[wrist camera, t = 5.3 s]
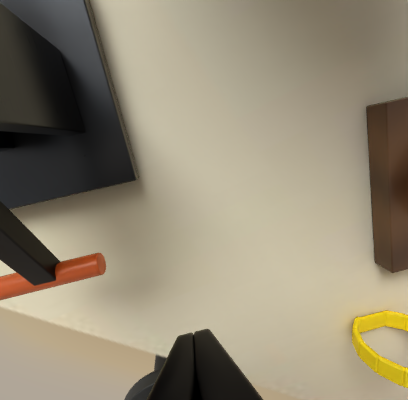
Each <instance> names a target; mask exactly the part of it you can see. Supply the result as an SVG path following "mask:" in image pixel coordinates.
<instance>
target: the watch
mask: <svg viewBox="0 0 408 400" xmlns="http://www.w3.org/2000/svg"><path fill="white" fill-rule="evenodd" d="M383 326H388V327H393V328H397V329H402V330H405V331H407V332H408V315H405V314H402V313H397V312H392V311H387V310H386V311H382V312H378V313H375V314H371V315H367V316H363V317H359V318H358V317H356V318H355V320H354V324H353V327H352V343H353V345H354V347H355V350H356V352H357V354H358V356H359V357H360V358H361V359H362V360H363V361H364V362H365V363H366V364H367V365H368V366H369V367H370V368H371V369H372V370H373V371H374V372H376V373H378V374H379V375H381V376H383V377H384V378H386V379H388V380H390V381H392V382H394V383H396V384H398V385H400V386H403V387H406V388H408V368H406V367H402V366H400V365H398V364H396V363H394V362H392V361H390V360H387V359H385V358H383V357H381V356H379V355H378V354H377V353H376V352H375V351H374V350H372V349H371V348H370V347H369V346H368V345H366V344H365V343H364V341H363V339H362V337H361V335H360V333H362V332H365V331H369V330H373V329H376V328H380V327H383Z"/></svg>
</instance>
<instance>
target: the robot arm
mask: <svg viewBox="0 0 408 400" xmlns="http://www.w3.org/2000/svg"><path fill="white" fill-rule="evenodd" d="M147 400H263V399H262V398H261V396H260V395H259V394H258V392H257V391H256V390H255V388H254V387H253V386H252V384H251V383H250V382H249V380H248V379H247V378H246V377H245V375H244V374H243V373H242V371H241V370H240V369H239V367H238V366H237V365H236V364H235V362H234V361H233V360H232V358H231V357H230V356H229V354H228V353H227V352H226V350H225V349H224V348H223V347H222V345H221V344H220V343H219V341H218V340H217V339H216V337H215V336H214V335H213V334H212V332H211V331H210V330H209V329H204V330H200V331H196V332H195V333H194V334H193V333H188V334H184V335H180V336H178V337H177V339H176V341H175V343H174V345H173V347H172V349H171V351H170V353H169V355H168V357H167V359H166V361H165V363H164V365H163V368H162V370H161V372H160V374H159V376H158V378H157V380H156V382H155V384H154V386H153V388H152V390H151V392H150V394H149V396H148V398H147Z"/></svg>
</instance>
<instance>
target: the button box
mask: <svg viewBox="0 0 408 400" xmlns="http://www.w3.org/2000/svg"><path fill="white" fill-rule="evenodd" d="M367 125H368V143H369V161H370V179H371V198H372V216H373V234H374V253H375V263H377V264H378V265H380V266H382V267H383V268H385V269H387V270H388V271H390V272H392V273H394V272H398V271H402V270H406V269H408V97H405V98H400V99H396V100H392V101H387V102H383V103H378V104H374V105H369V106H367Z"/></svg>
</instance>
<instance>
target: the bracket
mask: <svg viewBox="0 0 408 400" xmlns="http://www.w3.org/2000/svg"><path fill="white" fill-rule="evenodd" d="M138 178H139V175H138V172H137V168H136V165H135V161H134V158H133V154H132V151H131V147H130V144H129V140H128V137H127V133H126V130H125V126H124V122H123V119H122V115H121V112H120V108H119V105H118V101H117V98H116V94H115V91H114V87H113V84H112V80H111V77H110V73H109V70H108V66H107V63H106V59H105V56H104V52H103V49H102V45H101V42H100V38H99V34H98V31H97V27H96V24H95V20H94V17H93V13H92V10H91V6H90V3H89V0H0V201H1V202H2V203H3V204H4V205H5V206H6V207H7V208H8V209H13V208H18V207H22V206H26V205H31V204H35V203H39V202H44V201H48V200H52V199H57V198H61V197H65V196H70V195H74V194H78V193H83V192H87V191H91V190H96V189H100V188H104V187H109V186H113V185H117V184H122V183H126V182H130V181H135V180H136V179H138Z"/></svg>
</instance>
